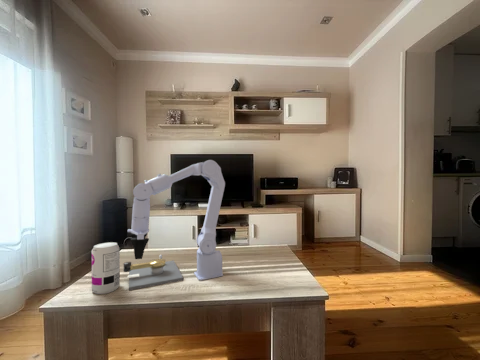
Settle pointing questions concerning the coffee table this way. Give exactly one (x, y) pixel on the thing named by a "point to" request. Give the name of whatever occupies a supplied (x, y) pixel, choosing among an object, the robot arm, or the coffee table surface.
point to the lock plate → (154, 275)
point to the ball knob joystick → (144, 265)
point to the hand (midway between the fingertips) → (138, 255)
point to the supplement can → (105, 267)
